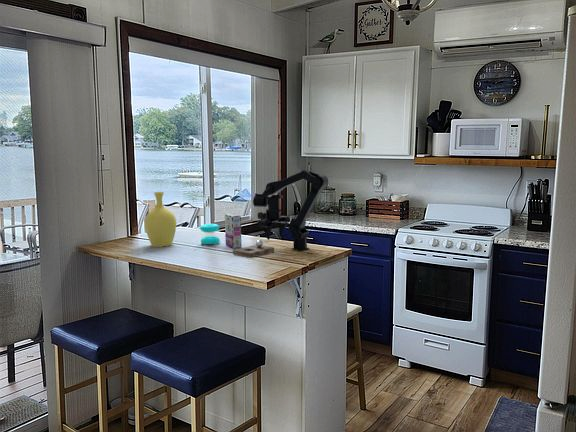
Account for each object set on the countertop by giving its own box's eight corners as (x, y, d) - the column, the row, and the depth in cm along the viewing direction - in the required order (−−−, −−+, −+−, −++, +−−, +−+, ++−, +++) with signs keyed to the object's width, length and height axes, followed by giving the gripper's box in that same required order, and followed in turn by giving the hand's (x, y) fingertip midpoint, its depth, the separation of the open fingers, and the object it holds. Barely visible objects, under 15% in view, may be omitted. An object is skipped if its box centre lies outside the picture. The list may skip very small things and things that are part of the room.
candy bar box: (242, 247, 253) (241, 215, 250) (233, 248, 250) (231, 216, 248) (234, 243, 263) (233, 213, 260) (225, 245, 260) (224, 213, 258)
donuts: (221, 223, 268) (215, 226, 258) (222, 241, 269) (216, 245, 260) (203, 223, 270) (197, 226, 260) (204, 241, 271) (198, 245, 261)
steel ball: (259, 246, 245) (259, 239, 245) (264, 247, 243) (264, 240, 242) (254, 247, 243) (254, 240, 242) (259, 248, 240) (259, 241, 240)
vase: (139, 247, 259) (136, 193, 255) (157, 241, 274) (154, 190, 270) (166, 248, 254) (163, 194, 250) (183, 242, 269) (180, 190, 265)
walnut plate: (256, 248, 250) (256, 244, 250) (274, 251, 242) (274, 247, 242) (232, 254, 238) (232, 250, 238) (250, 257, 230) (250, 253, 230)
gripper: (274, 204, 260) (275, 233, 263) (249, 208, 246) (250, 239, 249) (290, 205, 253) (291, 235, 255) (265, 209, 239) (266, 241, 241)
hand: (274, 238), depth 250 cm, fingers open, 9 cm apart
